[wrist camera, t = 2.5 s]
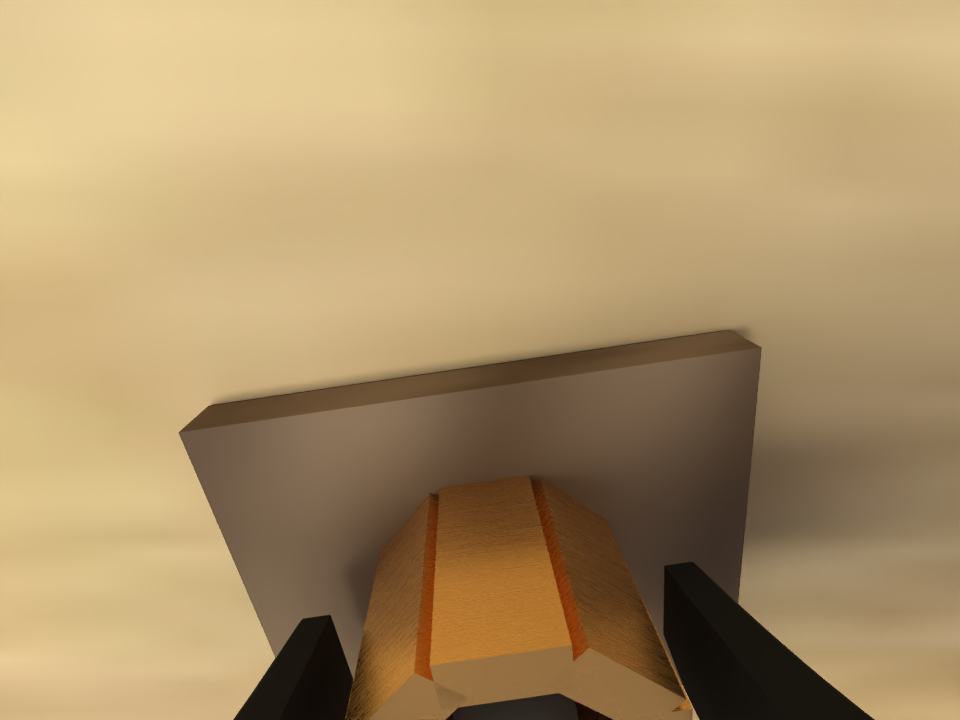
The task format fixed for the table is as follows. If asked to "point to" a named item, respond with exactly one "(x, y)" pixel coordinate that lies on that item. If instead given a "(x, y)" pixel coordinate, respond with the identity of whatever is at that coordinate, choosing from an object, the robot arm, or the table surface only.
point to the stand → (484, 472)
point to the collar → (509, 612)
